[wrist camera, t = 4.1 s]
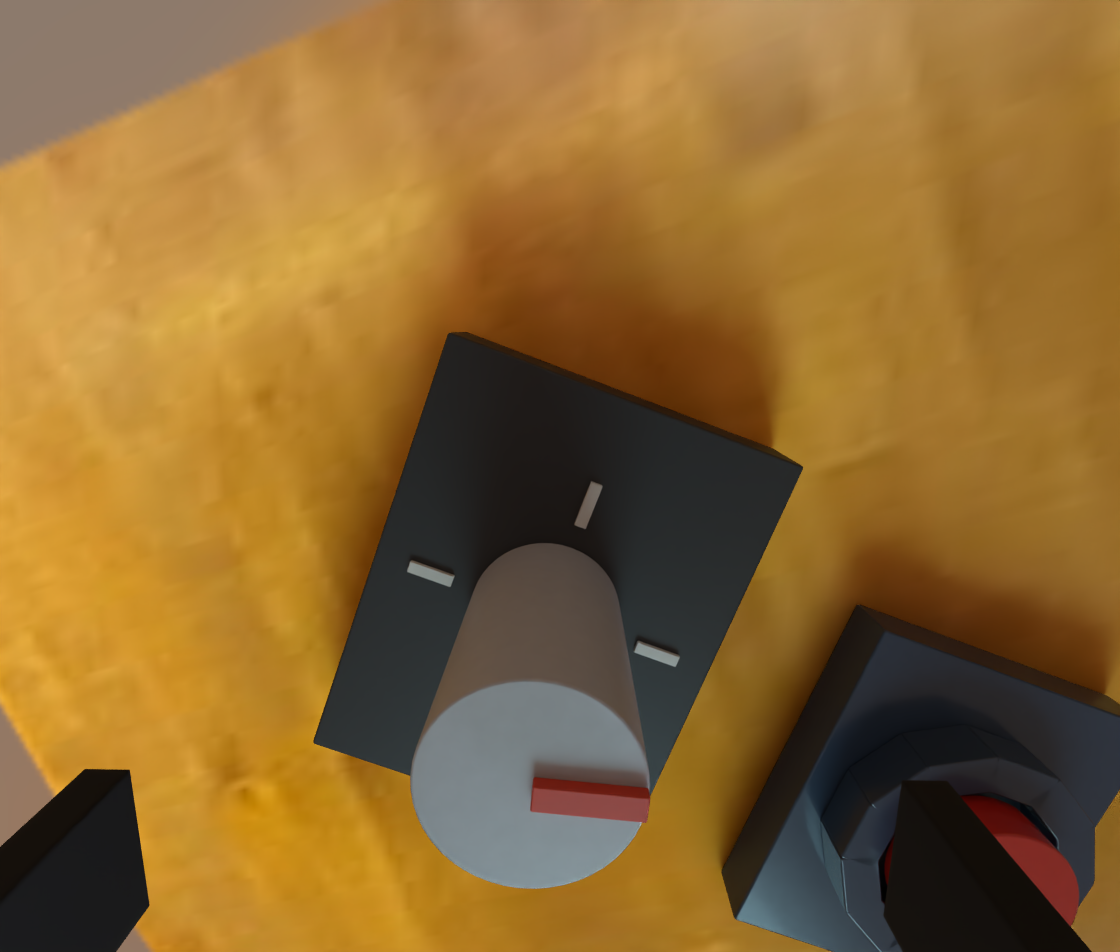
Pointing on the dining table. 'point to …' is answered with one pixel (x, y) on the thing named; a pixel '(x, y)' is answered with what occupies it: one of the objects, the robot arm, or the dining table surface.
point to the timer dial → (535, 727)
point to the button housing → (913, 774)
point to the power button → (1025, 852)
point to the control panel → (553, 537)
